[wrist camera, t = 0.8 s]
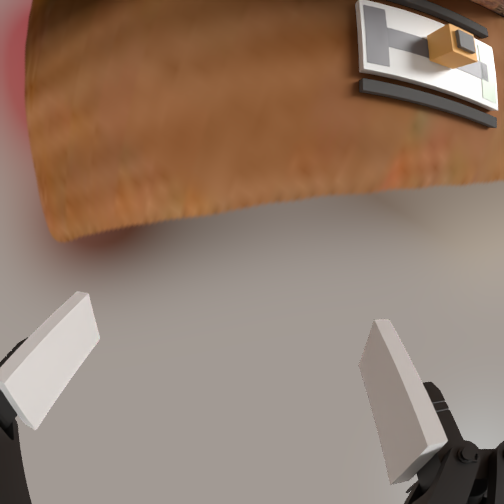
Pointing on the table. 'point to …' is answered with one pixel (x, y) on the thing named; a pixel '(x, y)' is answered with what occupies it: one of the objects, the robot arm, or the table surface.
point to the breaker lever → (452, 47)
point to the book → (492, 5)
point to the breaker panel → (419, 55)
